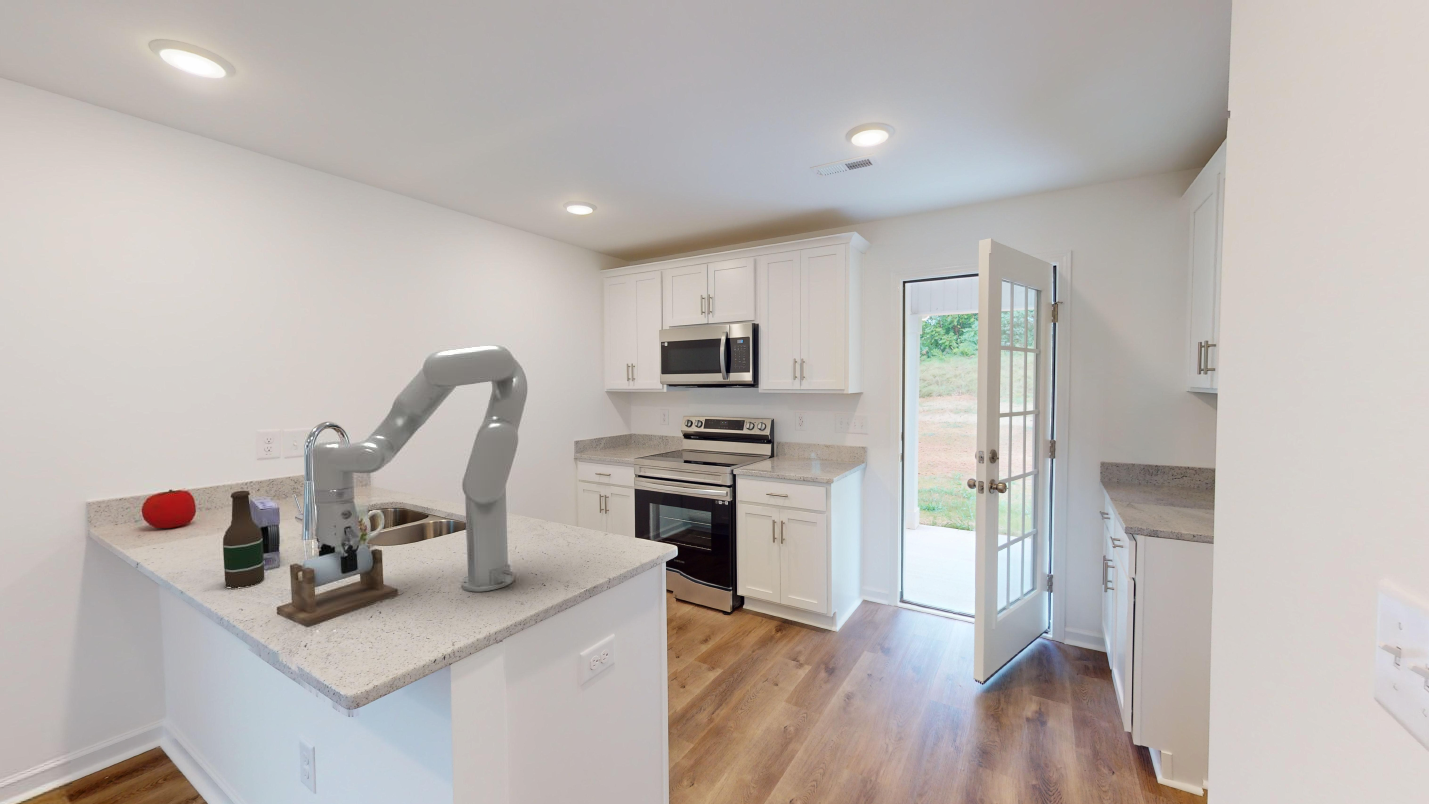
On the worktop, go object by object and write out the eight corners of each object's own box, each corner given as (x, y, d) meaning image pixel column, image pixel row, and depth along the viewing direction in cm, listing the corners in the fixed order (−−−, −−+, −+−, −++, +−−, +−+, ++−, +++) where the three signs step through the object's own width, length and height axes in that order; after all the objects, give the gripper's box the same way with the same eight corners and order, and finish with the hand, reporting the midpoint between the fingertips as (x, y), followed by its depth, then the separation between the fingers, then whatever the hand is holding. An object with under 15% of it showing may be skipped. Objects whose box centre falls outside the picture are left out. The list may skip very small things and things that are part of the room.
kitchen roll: (378, 573, 131) (380, 548, 130) (306, 595, 118) (307, 568, 117) (364, 563, 134) (366, 539, 133) (292, 584, 121) (293, 558, 120)
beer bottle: (241, 578, 143) (236, 488, 142) (272, 577, 144) (267, 487, 143) (216, 590, 135) (211, 495, 134) (250, 588, 136) (244, 494, 135)
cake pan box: (283, 568, 151) (280, 505, 150) (260, 573, 147) (256, 508, 146) (271, 553, 164) (268, 495, 163) (249, 557, 160) (246, 498, 159)
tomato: (202, 525, 197) (200, 488, 197) (149, 535, 186) (146, 495, 185) (188, 519, 206) (186, 484, 205) (136, 528, 194) (134, 491, 193)
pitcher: (393, 545, 170) (391, 502, 169) (327, 562, 155) (325, 514, 155) (376, 539, 176) (375, 498, 176) (311, 555, 161) (309, 509, 161)
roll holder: (398, 594, 131) (396, 550, 130) (307, 627, 114) (305, 575, 114) (366, 584, 138) (364, 541, 137) (277, 613, 121) (274, 565, 121)
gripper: (372, 495, 124) (376, 569, 125) (333, 489, 132) (336, 558, 133) (336, 502, 117) (340, 580, 118) (297, 495, 126) (301, 567, 127)
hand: (338, 568), depth 126 cm, fingers open, 9 cm apart
